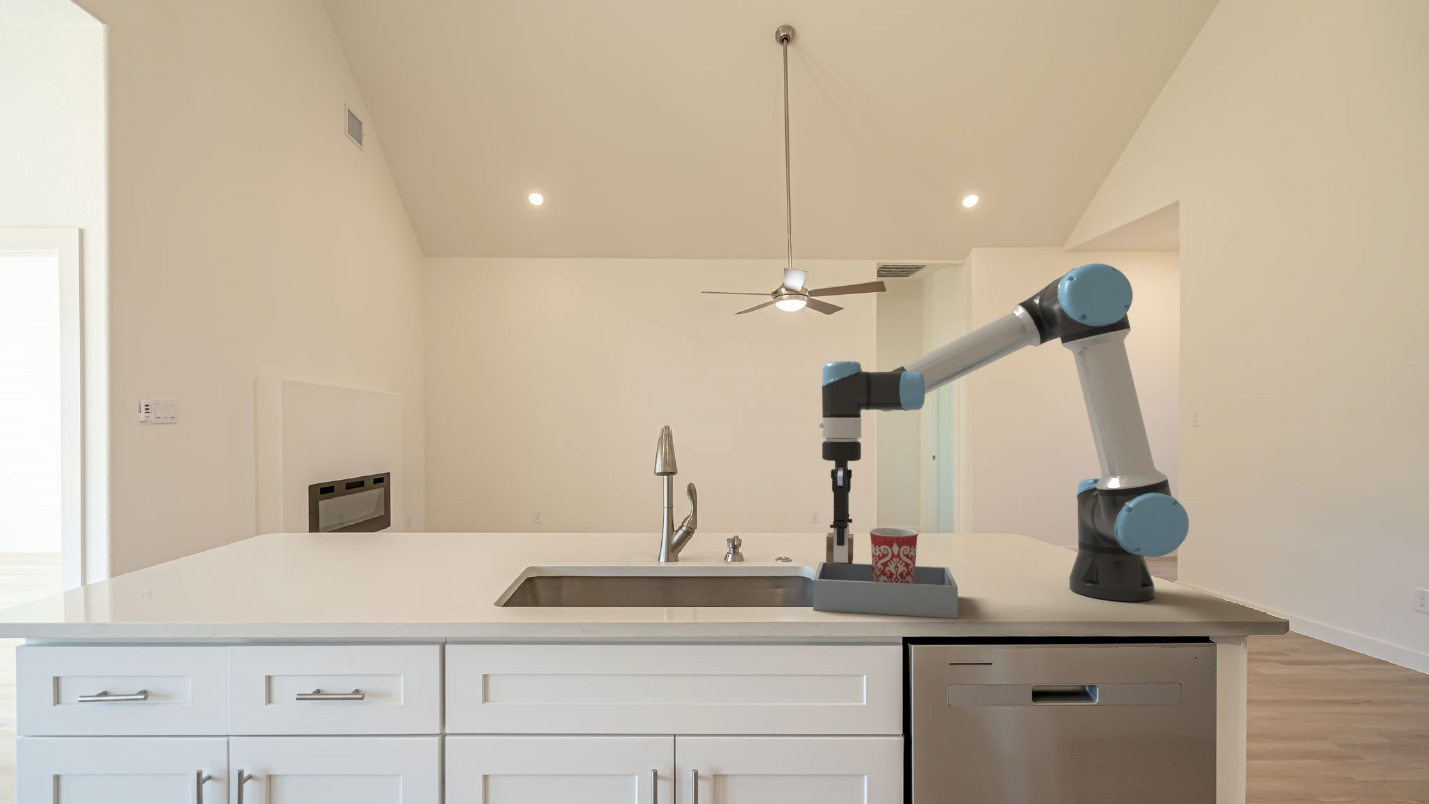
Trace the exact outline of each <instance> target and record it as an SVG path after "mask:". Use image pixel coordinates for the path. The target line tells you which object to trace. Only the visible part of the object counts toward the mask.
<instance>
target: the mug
mask: <svg viewBox="0 0 1429 804" xmlns="http://www.w3.org/2000/svg"><path fill="white" fill-rule="evenodd" d="M869 534H870V548H871V549H870V550H871V564H872V568H873V582H888V583H909V584H914V582H915V566H916V561H917V544H918V543H917V542H918V536H919V532H918V531H916V530H913V529H910V528H909V529H908V528H904V527H903V528H902V527H877V528H872V529H870V530H869Z"/></svg>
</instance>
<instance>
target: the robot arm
mask: <svg viewBox="0 0 1429 804" xmlns="http://www.w3.org/2000/svg"><path fill="white" fill-rule="evenodd" d="M1132 287H1133V286H1132V285H1131V283H1130V281H1129V279H1128V278H1127V276H1126V275H1125V274H1124V273H1123V272H1122V271H1121V270H1119V269H1118V268H1116V267H1114V266H1112V265H1110V264H1107V263H1106V264H1105V263H1096V262H1095V263H1088V264H1083V265H1081V266H1079V267H1078V266H1077V267H1075V268H1072V269H1071V270H1069V271H1068V272H1066V273H1065V274H1064V275H1062V276H1060V277H1058V278H1056V279H1054V280H1052V281H1051V282H1050V283H1049V284H1047V285H1046V286H1044V287H1043V288H1041V290H1038V292H1036V293H1035V294H1033V295H1032V296H1030V297H1028V298H1027V299H1025V300H1023V301H1022V302H1019V303H1018V304H1016V305H1014V306H1013V308H1012V311H1011V312H1010V313H1007V314H1005V315H1003V316H1002V317H1000V318H998V319H995V320H994V321H992V322H990V323H987V324H986V325H985V324H984V325H983V326H981V327H979V328H978V329H976V330H973V331H971V332H969V333H967V334H964V335H963V336H961V337H959V338H957V339H955V340H953V341H950V342H948V343H947V344H945V345H942V346H940V347H938V348H936V349H934V350H933V351H930V352H928V353H926V354H924V355H922V356H919V357H917V358H916V359H913V360H911V361H909V362H907V363H906V364H903V365H901V366H900V367H897V368H895V369H893V370H890V371H873V372H872V371H871V372H870V371H865V370H864V371H863V370H862V365H861V363H860V362H859V361H855V360H854V361H850V360H848V361H847V360H846V361H845V360H841V361H829V362H827V363H825V364H824V365H823V367H822V378H821V381H822V382H821V400H822V401H821V402H822V403H821V404H822V405H821V406H822V407H821V410H822V411H821V412H822V422H820V423H819V425H818V426H819V427H818V428H819V429H822V438H823V439H825V440H824V441H823V442H822V443H821V457H822V460H824V461H827V462H829V461H830V462H831V461H832V462H833V461H834V468H832V469H831V470H830V478H831V492H832V493H833V521H832V524H829V528H830V529H833V533H834V562H842V563H848V534H850V524H852V523H853V518H850V512H849V511H850V507H849V505H850V504H849V501H850V499H849V497H850V495H849V494H850V492H851V488H852V486H851V485H852V482H851V480H852V475H853V469H849V462H858V461H860V460H861V459H862V443H861V442H860V441H859V440H860V439H861V438H862V414H861V413H862V411H863V410H864V411H871V410H872V411H873V410H874V411H882V412H891V411H904V412H908V411H917V410H918V411H919V410H921V409H922V408H923V407H924V404H925V399H926V394H928V393H930V392H932V391H936V389H937V390H938V389H939V388H941V387H943V386H945V385H947V384H950V383H951V382H954V381H956V380H957V379H960V378H962V377H964V376H966V375H969V374H970V373H973V372H975V371H977V370H979V369H981V368H983V367H985V366H987V365H990V364H991V363H995V362H996V361H998V360H1000V359H1002V358H1004V357H1006V356H1008V355H1011V354H1012V353H1014V352H1017V351H1019V350H1021V349H1023V348H1025V347H1028V346H1033V347H1036V348H1037V347H1039V346H1041V345H1043V344H1046V343H1048V342H1050V341H1053V340H1056V339H1060V341H1061V346H1062V347H1064V348H1066V349H1067V350H1069V351H1071V352H1072V354H1073V358H1074V363H1075V366H1076V371H1077V374H1078V380H1079V383H1080V388H1081V392H1082V395H1083V399H1084V404H1085V408H1086V412H1087V416H1088V417H1087V418H1088V420H1089V421H1088V422H1089V425H1090V428H1091V429H1090V430H1091V433H1092V437H1093V443H1094V445H1095V450H1096V454H1097V458H1098V462H1099V463H1098V464H1099V466H1100V471H1101V474H1102V475H1101V477H1100V478H1084V479H1082V480H1080V481H1079V482H1078V485H1077V493H1076V499H1077V533H1078V537H1077V538H1078V539H1077V541H1078V542H1077V544H1078V548H1077V549H1078V550H1077V554H1076V557H1075V559H1074V560H1075V561H1074V563H1073V566H1072V569H1071V571H1070V575H1069V579H1068V581H1069V583H1068V584H1069V585H1068V587H1069V590H1071V591H1072V592H1074V593H1076V594H1079V595H1083V596H1086V597H1091V598H1094V599H1095V598H1096V599H1101V600H1107V601H1108V600H1109V601H1117V602H1118V601H1121V602H1143V601H1149V600H1152V599H1154V598H1156V597H1155V596H1156V595H1155V594H1156V593H1155V584H1154V580H1153V578H1152V575H1151V573H1150V569H1149V568H1148V565H1147V561H1146V560H1145V557H1147V558H1157V557H1159V558H1160V557H1163V556H1167V555H1170V554H1171V553H1173V552H1174V551H1176V550H1177V549H1178V548H1180V546H1181V545H1182V543H1183V542H1184V541H1185V540H1186V538H1187V536H1188V533H1189V530H1190V519H1189V515H1188V513H1187V511H1186V509H1185V507H1184V506H1183V505H1182V504H1181V503H1180V502H1179V501H1178V500H1177V499H1176V498H1174V497H1173V496H1172V492H1171V488H1170V484H1169V479H1168V476H1167V475H1166V474H1165V473H1163V472H1161V471H1159V470H1158V469H1157V468H1156V467H1155V464H1154V460H1153V456H1152V451H1151V448H1150V443H1149V439H1148V436H1147V430H1146V426H1145V423H1144V419H1143V414H1142V411H1141V406H1140V403H1139V399H1138V393H1137V390H1136V386H1135V381H1134V378H1133V373H1132V370H1131V365H1130V361H1129V357H1128V353H1127V349H1126V344H1125V339H1126V338H1127V337H1128V335H1129V334H1130V332H1131V331H1132V329H1131V325H1130V319H1129V316H1128V311H1130V308H1131V306H1132V303H1133V300H1134V298H1133V297H1134V295H1133V294H1134V291H1133V288H1132Z"/></svg>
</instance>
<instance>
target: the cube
mask: <svg viewBox="0 0 1429 804" xmlns="http://www.w3.org/2000/svg"><path fill="white" fill-rule="evenodd" d="M825 543H826V546H825V552H826V553H825V562H826V563H840V564H852V563H854V533H849V534H848V563H842V562H834V532H827V534H826V542H825Z"/></svg>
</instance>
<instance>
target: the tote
mask: <svg viewBox="0 0 1429 804" xmlns="http://www.w3.org/2000/svg"><path fill="white" fill-rule="evenodd" d="M958 590H959V587H958V585H957V583H956V581H955V579H954V576H953V574H952V572H951V570H950V568H949V566H948V567H947V566H929V565H927V566H926V565H925V566H924V565H915V582H914V584H909V583H888V582H873V568H872V563H860V562H859V563H856V562H855V563H854V562H853V563H852V564H840V563H826V561H819V563H818V565H817V568H816V572H815V574H814V576H813V579H812V598H813V600H812V601H813V602H812V608H813V609H812V610H813V611H822V612H837V613H838V612H839V613H857V614H874V615H890V616H891V615H892V616H908V617H909V616H910V617H923V618H925V617H926V618H944V619H959V596H958V595H959V591H958Z"/></svg>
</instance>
